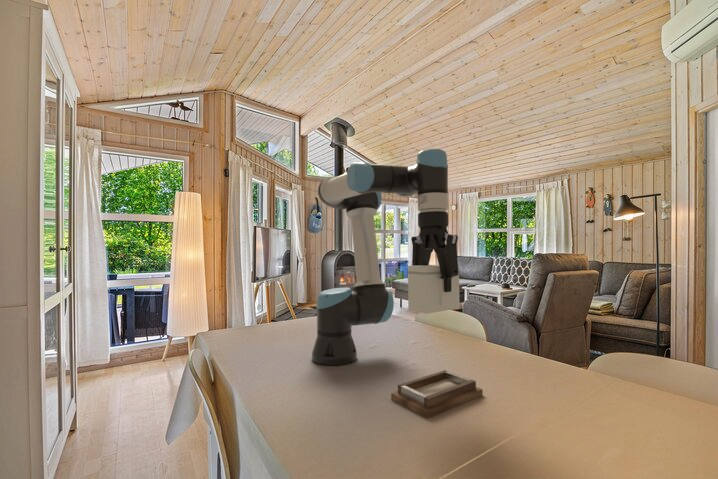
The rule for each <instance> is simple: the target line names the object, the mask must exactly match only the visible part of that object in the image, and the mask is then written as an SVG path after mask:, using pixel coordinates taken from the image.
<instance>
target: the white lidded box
mask: <svg viewBox="0 0 718 479" xmlns="http://www.w3.org/2000/svg"><path fill="white" fill-rule="evenodd" d="M446 273H447V272H446ZM458 273H459V274H458V276H455V277H452V279H451V289H452V290H451V292H450V305H447V306H440V282H439V279H441V278H440V277H442V274H441V271H440V266H439V263H438V264H429V265H416V266H412V265H407V296H408V297H407V299H408V300H407V301H408V303H407V304H408V311H410V312H415V313H420V314H421V313H422V314H426V315H427V314H434V313H440V312H446V311H451V310H453V311H454V310H458V309H460V307H461V306H460V304H461V303H460V265H459V264H458Z"/></svg>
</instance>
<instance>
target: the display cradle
mask: <svg viewBox="0 0 718 479" xmlns="http://www.w3.org/2000/svg"><path fill="white" fill-rule="evenodd" d="M390 394H391V397H390V399H391V401H394V402H396V403H397V404H400V406H403V407H405V408H406V409H410V411H413V412H414V413H417V414H419V415H420V416H422V417H424V418H426V419H428V418H432V417H433V416H436V415H438V414H441V413H444V412H446V411H449V410H450V409H452V408H455V407H458V406H461V405H462V404H463V405H464V404H465V403H468V402H470V401H472V400H474V399H477V398H480V397H482V396H483V394H484V393H483V388H481V387H478V386H477V381H476V380H475V379H470V378H468V377H465V376H462V375H459V374H456V373H453V372H451V371H449V370H446V369H444V370H441V371H438V372H434V373H431V374H428V375H425V376H422V377H419V378H416V379H413V380H409V381H406V382H403V383H400V384H397V391H394V392H391V393H390Z"/></svg>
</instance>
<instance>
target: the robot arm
mask: <svg viewBox="0 0 718 479" xmlns="http://www.w3.org/2000/svg"><path fill="white" fill-rule="evenodd" d="M447 154H448V153H446V151H445V150H443V149H440V148H428V149H427V148H426V149H422V150H420V151H419V152H418V153H417V156H416V164H413V165H411V166H405V165H403V166H402V165H393V164H392V165H391V164H379V163H370V162H365V161H362V162H352V163H351V164H349V167H348V169H347V172H345V173H343V174H341V175H338V176H335V175H334V176H329V177H326V178H324V179H322V180H321V182H320V183H319V184H318V187H317V195H318V198H319V200H320V201H321V202H322V203H323V204H324V205H325V206H326V207H329V208H332V209H336V210H339V209H340V210H345V211H346V212H345V213H346V216H347V217H348V218H349V219H350V223H351V233H352V234H351V236H352V244H353V254H354V264H355V265H354V266H355V277H356V278H355V279H356V282H355V284H354V285H353V286H352V289H353V291H352V289H351V287H335V288H328V289H326V290H325V289H324V290H323V291H320V292H319V293H318V295H317V297H316V298H317V299H316V330H317V332H316V339H315V341H314V344H313V349H312V352H311V359H312V362H314V363H316V364H318V365H324V366H341V365H347V364H352V363H353V362H355V361H356V360H357V356H358V354H357V353H358V352H357V348H356V345H355V342H354V339H353V335H352V327H353V326H362V325H365V326H366V325H373V324H374V325H379V324H382V323H386V322H387V321H388V320H390V319H391V317H392V315H393V311H394V304H395V300H394V295H393V294H392V291H391V289H387V288H386V283H385V282H384V281H383V280H381V274H380V273H381V271H380V264H379V254H378V253H379V252H378V245H377V238H376V237H377V235H376V227H375V219H374V218H375V216H376V215H377V213H378V210H379V209H380V208H381V204H382V198H383V197H382V193H384V194H396V195H398V196H401V197H410V196H413V195H414V196H415V195H416V194H417V210H418V212H419V213H418V214H417V226H418V227H419V229H420V231H419V234H418V235H417V236H412V237H411V238H410V239H411V245H412V254H411V255H412V256H411V266H416V265H430V260H431V258H432V252H433V251H434V253H435V256H436V258H437V262H438V264H439V266H440V271H441V274H442V277H440V278H441V279H439V282H440V306H447V305H450V292H451V290H452V289H451V279H452V277H455V276H458V274H459V275H460V272H459V273H458V265H459V261H458V248H457V247H458V246H457V244H458V240H459V236H458V234H450V233H449V231H448V228H447V227H449V213H448V212H447V211H448V210H449V192H448V191H449V187H448V186H449V184H448V181H449V176H448V175H449V165H448V157H447V156H448V155H447ZM446 272H447V273H446Z"/></svg>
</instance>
